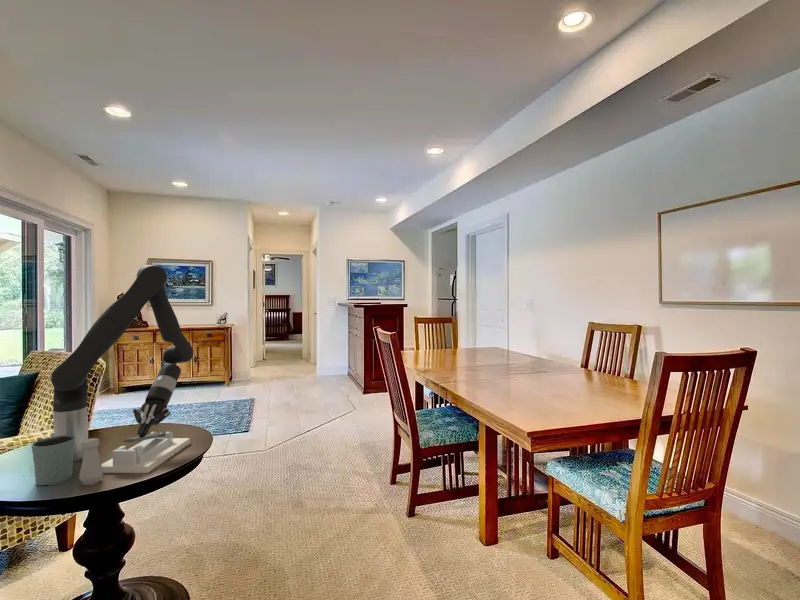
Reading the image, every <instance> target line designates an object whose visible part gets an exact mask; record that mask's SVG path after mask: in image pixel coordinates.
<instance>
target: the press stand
mask: <svg viewBox="0 0 800 600" xmlns="http://www.w3.org/2000/svg"><path fill="white" fill-rule="evenodd" d="M155 433H158V432H157V431H151V432H150V434H155ZM165 433H166V434H165V436H164V438H163V437H157V438H152V439H147V440H142V441H141V442H140V441H139V442H138V443H137V444H135V445H134V446H132V447H130V448H128V449H127V445H121V446H120V447H117V448H116V449H114V450H112V458H110V459H108V460H107V461H105V462H103V463H101V465H102V470H103V474H105V473H106V474H108V473H109V474H111V473H112V474H115V473H116V474H119V473H121V474H123V473H124V474H148V473H149V472H151V471H153V470H154V469H156V468H157V467H158V466H160V465H161V464H162V463H164V462H165V461H167V460H168V459H169V458H171V457H173V456H174V455H176V454H177V453H178V452H180V451H181V450H183V449H184V448H186V447H187V446H188V445H190V443H191V439H190V438H189V437H184V438H183V437H181V438H180V437H179V438H178V437H173V435H174V434H173V431H165ZM185 446H186V447H185ZM182 448H183V449H182ZM175 453H176V454H175Z"/></svg>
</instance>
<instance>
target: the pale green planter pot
mask: <svg viewBox="0 0 800 600" xmlns="http://www.w3.org/2000/svg"><path fill="white" fill-rule="evenodd" d="M74 443H75V437H74V436H71V435H63V436H55V437H51V436H50V437H45V438H43V439H39V440H37V441H34V442H33V443H32V444H31V446H30V447H31V451H32V453H31V454H32V459H33V460H32V461H33V464H34V465H33V466H34V477H35V484H36V486H38V485H49V486H53V485H58V484H61V483H64V482H67V481H68V480H70V479H71V478H72V477H73V468H74V467H73V465H74V464H73V463H74V461H73V453H74V451H73V450H74Z"/></svg>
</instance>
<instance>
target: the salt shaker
mask: <svg viewBox="0 0 800 600" xmlns="http://www.w3.org/2000/svg"><path fill="white" fill-rule="evenodd" d="M99 446H100V439H99V438H98V437H97V438H96V437H95V438H94V437H91V438H88V439H87V440H84V441H83V442H82V449H84V455H83V458H82V459H81V460H82V462H81V466H80V471H79V475H78V478H79V481H80V483H82V486H92V485H95V484H97V483H99V482H101V480H102V477H103V476H104V475H103V474H104V473H103V470H102V465H101V464H102V461H101V458H100V453H99V449H98V447H99Z"/></svg>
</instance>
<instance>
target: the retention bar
mask: <svg viewBox="0 0 800 600" xmlns="http://www.w3.org/2000/svg"><path fill="white" fill-rule="evenodd" d="M165 434H166V432H157V433H155V434H151V433H150V434H147V435H145V437H140V436H139V435H138V436H133V437H128V438H124V439H123V443H137V442H140V441H141V442H142V441H144V440H147V439H152V438H157V437H158V438H163V437H165Z"/></svg>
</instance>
